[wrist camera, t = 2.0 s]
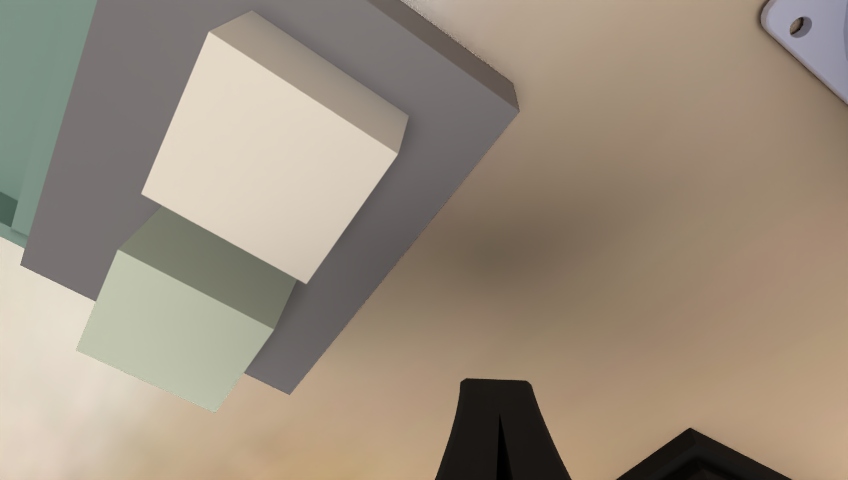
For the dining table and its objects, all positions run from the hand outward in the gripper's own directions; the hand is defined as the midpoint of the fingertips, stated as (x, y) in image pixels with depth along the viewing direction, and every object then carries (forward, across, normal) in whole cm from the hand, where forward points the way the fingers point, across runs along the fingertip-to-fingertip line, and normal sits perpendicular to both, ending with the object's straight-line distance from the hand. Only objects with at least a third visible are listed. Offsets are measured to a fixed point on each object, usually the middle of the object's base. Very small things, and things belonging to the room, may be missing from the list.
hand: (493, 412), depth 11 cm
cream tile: (+6, +5, -4) cm, 9 cm away
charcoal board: (+8, +7, -2) cm, 11 cm away
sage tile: (+6, +9, +2) cm, 11 cm away
